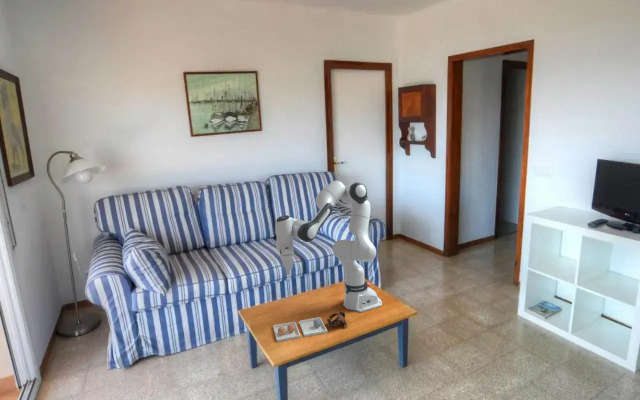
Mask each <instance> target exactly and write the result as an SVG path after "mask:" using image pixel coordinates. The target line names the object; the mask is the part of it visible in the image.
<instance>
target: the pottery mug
mask: <svg viewBox="0 0 640 400" xmlns="http://www.w3.org/2000/svg"><path fill="white" fill-rule="evenodd" d="M334 317H335V319H333V318H334ZM326 322H327V324H328V327H335V324H336V325H337V324H338V325H340V324H341V322H342V323H344V325H343V329H346V328H347V327H348V324H347V320H346V314H345V311H340V312H339V313H338V312H334V313H332V314H330V315H329V318H327V321H326Z"/></svg>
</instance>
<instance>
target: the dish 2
mask: <svg viewBox="0 0 640 400" xmlns="http://www.w3.org/2000/svg"><path fill="white" fill-rule="evenodd" d="M316 319H318V320H320V321H321V325H320V327H315V326H314V324H313V323H314V321H315V320H316ZM298 325H299V326H300V330H301V331H302V334H303V337H304V338H305V337H307V338H308V337H311V336H312V337H313V336H317V335H321V334H328V329H327V327H326V326H325V323H324V322H323V320H322V317H321V316H320V317H313V318H308V319H302V320H298Z"/></svg>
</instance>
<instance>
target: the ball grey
mask: <svg viewBox="0 0 640 400" xmlns="http://www.w3.org/2000/svg"><path fill="white" fill-rule="evenodd" d="M313 324H314V326H315V327H320V325H321V321H320V320H318V319H316V320H315V321H314V323H313Z"/></svg>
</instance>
